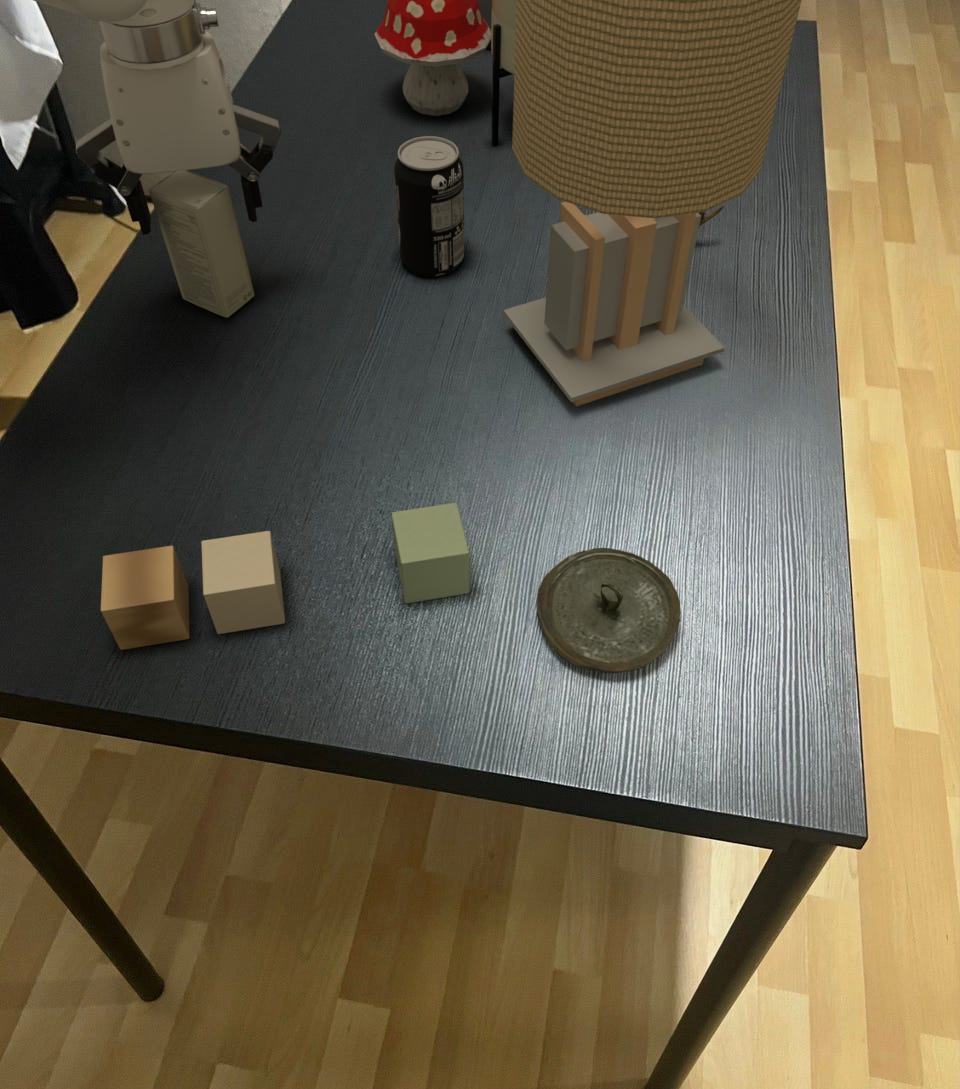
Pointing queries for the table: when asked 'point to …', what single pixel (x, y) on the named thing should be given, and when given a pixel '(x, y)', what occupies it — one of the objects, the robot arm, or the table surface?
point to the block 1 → (145, 597)
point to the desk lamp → (636, 169)
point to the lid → (608, 610)
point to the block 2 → (242, 582)
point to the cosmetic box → (203, 241)
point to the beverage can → (430, 205)
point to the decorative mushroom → (434, 49)
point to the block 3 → (431, 552)
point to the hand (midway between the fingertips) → (200, 219)
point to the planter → (501, 52)
